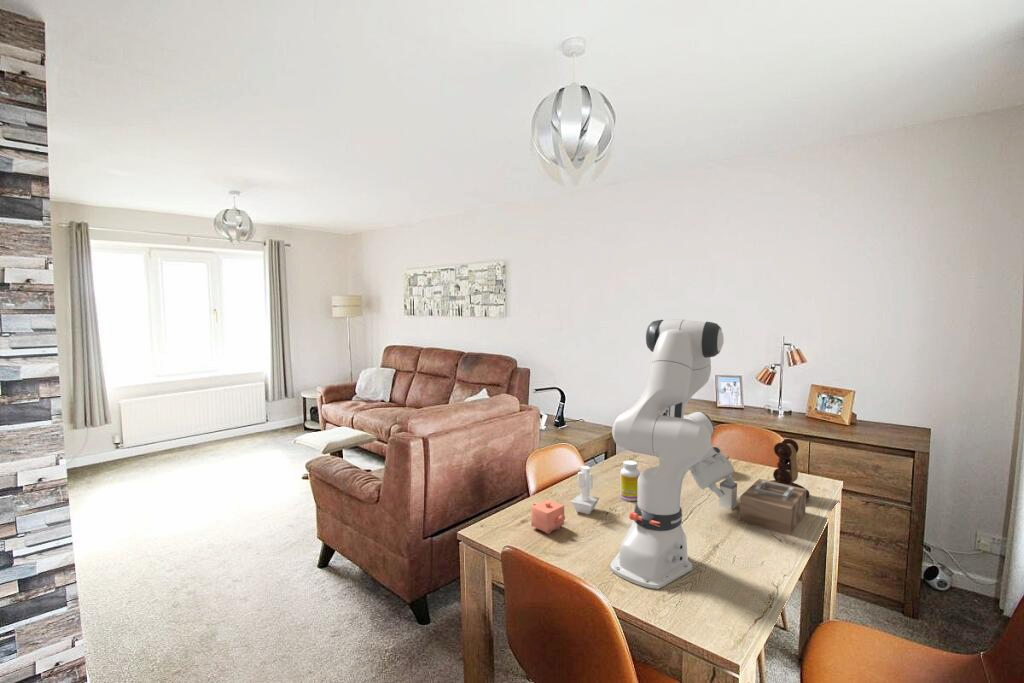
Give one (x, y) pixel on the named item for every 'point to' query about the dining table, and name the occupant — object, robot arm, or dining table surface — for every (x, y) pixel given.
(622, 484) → the supplement bottle
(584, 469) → the figurine
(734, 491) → the grey white rectangular block
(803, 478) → the dining table surface
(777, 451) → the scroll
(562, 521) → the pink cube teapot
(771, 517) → the block
